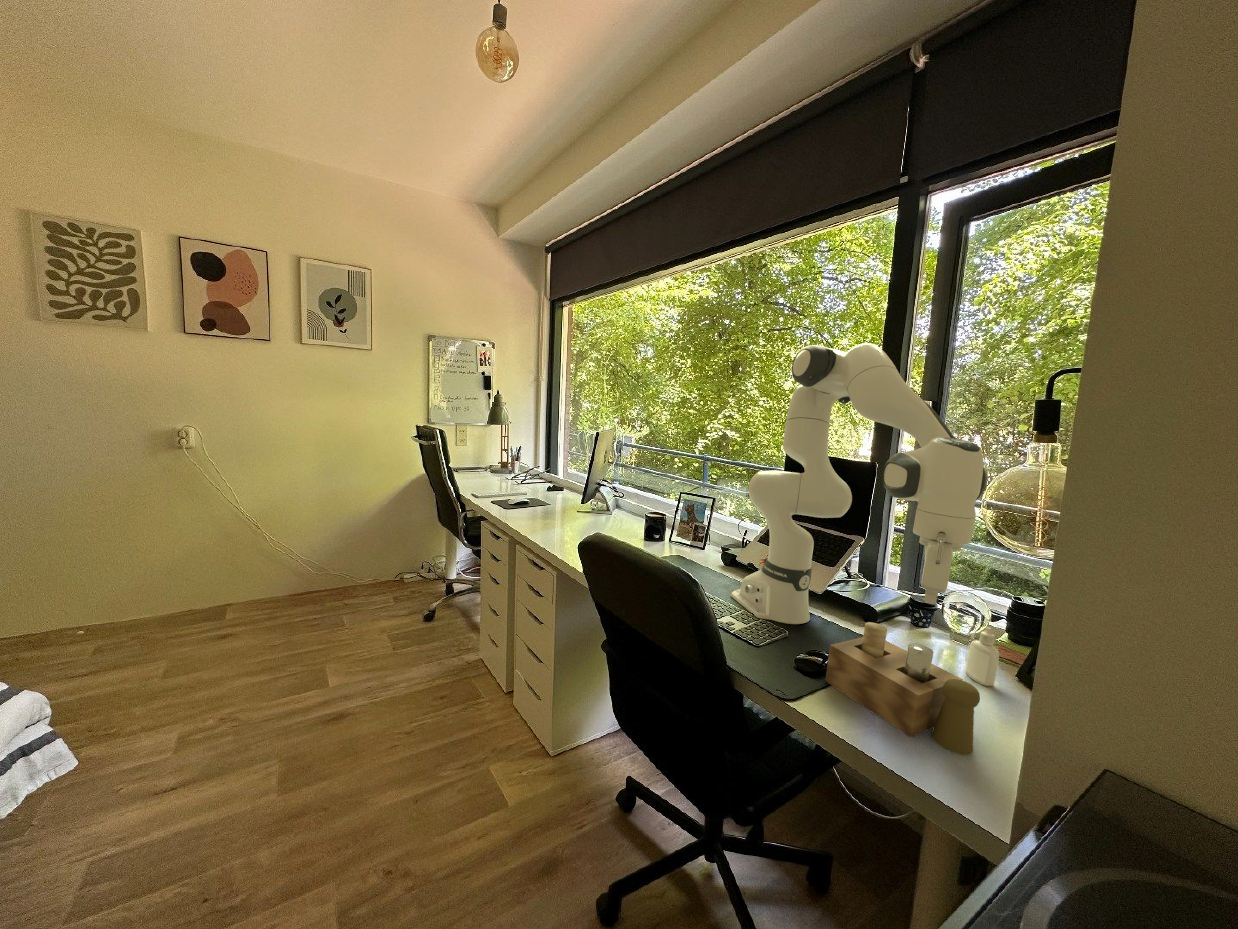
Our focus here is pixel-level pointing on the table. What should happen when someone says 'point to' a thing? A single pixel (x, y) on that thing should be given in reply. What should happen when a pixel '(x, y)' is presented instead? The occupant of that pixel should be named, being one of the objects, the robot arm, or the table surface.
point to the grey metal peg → (918, 662)
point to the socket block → (887, 685)
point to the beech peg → (874, 639)
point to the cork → (956, 717)
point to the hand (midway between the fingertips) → (929, 601)
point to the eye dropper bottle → (983, 659)
